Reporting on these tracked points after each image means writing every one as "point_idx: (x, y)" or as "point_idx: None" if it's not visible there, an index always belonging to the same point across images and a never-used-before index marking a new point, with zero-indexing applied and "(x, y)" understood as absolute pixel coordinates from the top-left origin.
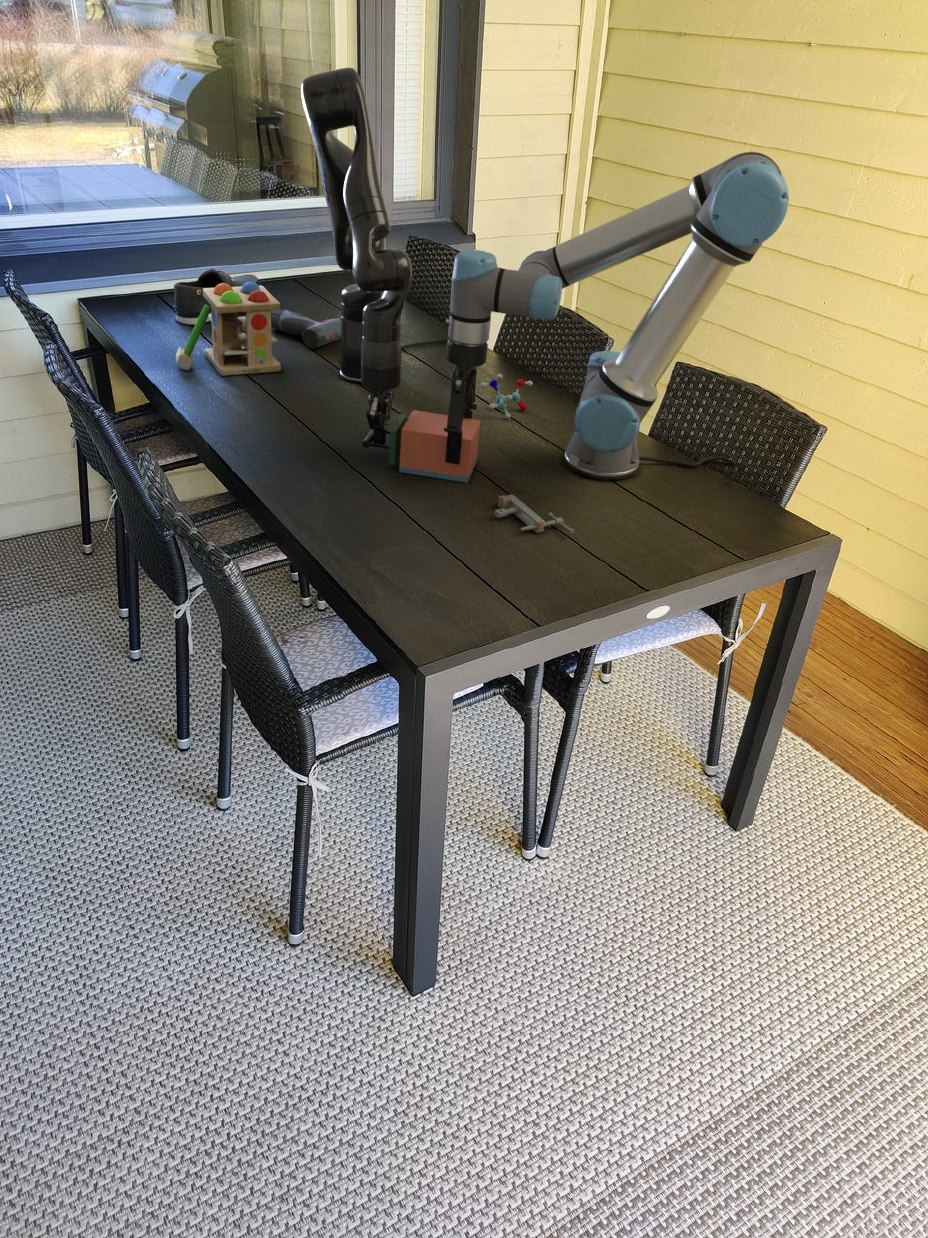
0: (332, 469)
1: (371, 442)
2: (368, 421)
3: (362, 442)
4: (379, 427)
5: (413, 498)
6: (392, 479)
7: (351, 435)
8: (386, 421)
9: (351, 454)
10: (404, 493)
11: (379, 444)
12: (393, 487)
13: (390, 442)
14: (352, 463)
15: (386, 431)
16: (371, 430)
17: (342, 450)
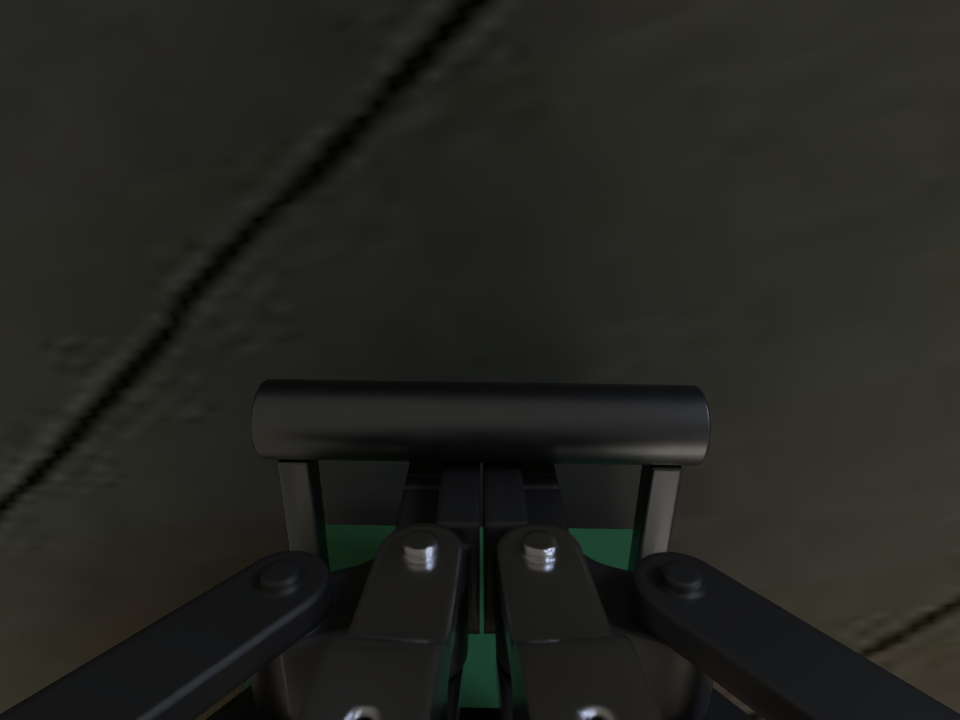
0: (97, 108)
1: (301, 474)
2: (18, 708)
3: (258, 392)
4: (215, 712)
5: (30, 682)
6: (189, 550)
7: (875, 69)
8: (501, 715)
9: (456, 188)
10: (56, 637)
11: (296, 546)
12: (89, 575)
13: (247, 684)
14: (292, 244)
15: (638, 535)
16: (568, 424)
17: (510, 81)
